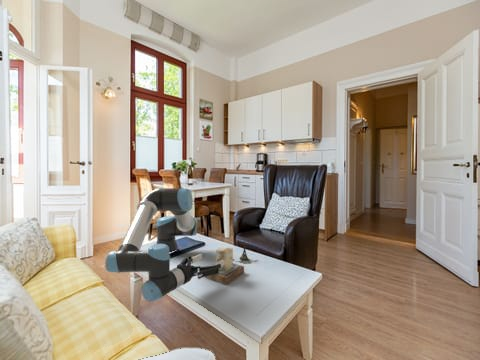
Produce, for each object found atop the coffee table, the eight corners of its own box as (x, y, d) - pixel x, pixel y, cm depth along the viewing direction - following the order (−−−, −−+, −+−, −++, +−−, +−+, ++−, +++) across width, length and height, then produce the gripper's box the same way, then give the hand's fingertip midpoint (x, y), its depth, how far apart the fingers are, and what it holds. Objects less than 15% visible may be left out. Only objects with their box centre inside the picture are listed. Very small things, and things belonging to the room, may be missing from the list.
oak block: (216, 268, 123) (216, 249, 123) (223, 264, 128) (223, 246, 128) (225, 271, 120) (226, 252, 120) (232, 267, 125) (232, 248, 125)
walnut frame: (204, 277, 122) (204, 269, 121) (223, 266, 135) (223, 259, 135) (226, 285, 114) (226, 277, 114) (243, 272, 128) (243, 265, 127)
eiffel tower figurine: (229, 260, 145) (229, 239, 145) (238, 255, 154) (238, 235, 153) (249, 266, 137) (249, 244, 136) (258, 260, 145) (258, 239, 144)
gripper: (159, 277, 104) (193, 261, 122) (201, 294, 90) (232, 273, 108) (159, 260, 103) (193, 246, 121) (201, 275, 90) (233, 257, 108)
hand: (211, 259), depth 115 cm, fingers open, 13 cm apart
